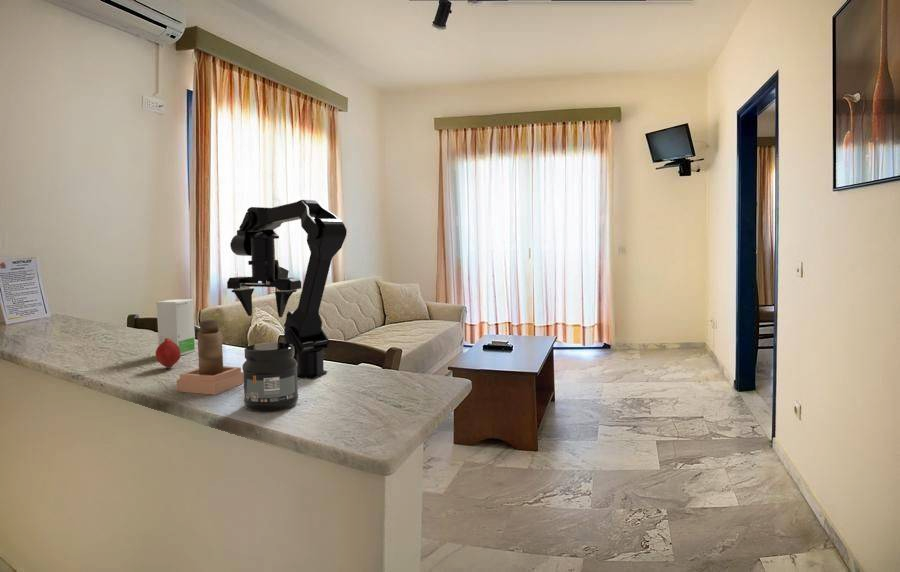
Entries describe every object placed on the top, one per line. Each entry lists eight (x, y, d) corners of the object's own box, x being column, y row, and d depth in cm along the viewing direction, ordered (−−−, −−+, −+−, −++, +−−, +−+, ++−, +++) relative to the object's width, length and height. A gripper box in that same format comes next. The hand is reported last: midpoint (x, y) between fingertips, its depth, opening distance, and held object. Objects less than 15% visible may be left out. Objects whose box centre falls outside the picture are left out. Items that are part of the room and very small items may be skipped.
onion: (156, 366, 145) (154, 336, 145) (181, 364, 148) (179, 334, 147) (156, 371, 140) (154, 340, 140) (181, 369, 143) (180, 338, 142)
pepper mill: (226, 372, 129) (224, 319, 127) (219, 378, 124) (216, 322, 123) (203, 373, 128) (201, 319, 127) (196, 379, 123) (193, 323, 122)
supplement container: (275, 394, 120) (273, 339, 119) (309, 402, 114) (308, 345, 113) (232, 407, 111) (230, 348, 110) (267, 417, 105) (265, 354, 104)
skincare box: (177, 357, 157) (174, 302, 155) (157, 356, 158) (154, 301, 157) (196, 351, 165) (194, 298, 164) (177, 350, 166) (174, 298, 165)
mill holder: (244, 382, 130) (244, 367, 129) (215, 394, 120) (214, 377, 120) (208, 379, 132) (207, 364, 132) (177, 391, 123) (176, 374, 123)
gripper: (311, 255, 149) (313, 313, 150) (251, 254, 154) (253, 311, 155) (288, 257, 138) (290, 319, 140) (224, 256, 143) (226, 316, 145)
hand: (265, 316), depth 145 cm, fingers open, 9 cm apart
